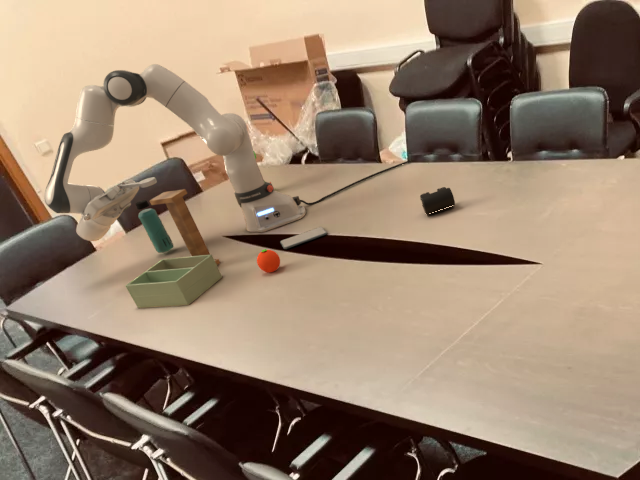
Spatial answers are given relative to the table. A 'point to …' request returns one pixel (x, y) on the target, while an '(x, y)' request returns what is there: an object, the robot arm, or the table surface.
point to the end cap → (437, 200)
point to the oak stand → (183, 221)
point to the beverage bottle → (154, 228)
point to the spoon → (141, 183)
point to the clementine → (268, 260)
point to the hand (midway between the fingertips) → (121, 185)
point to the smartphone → (303, 237)
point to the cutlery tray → (174, 281)
